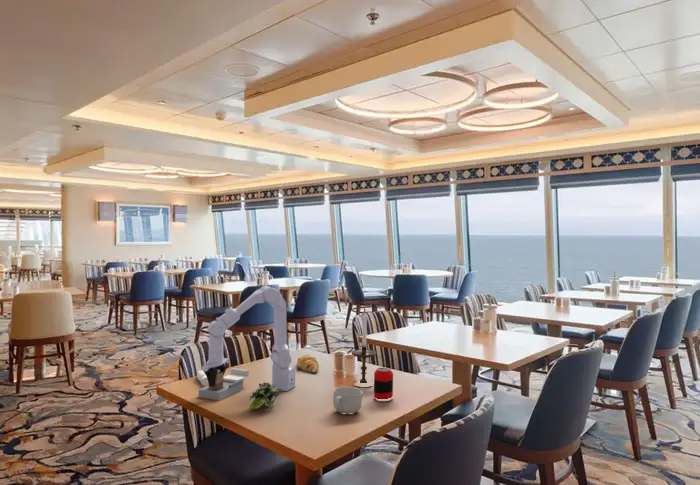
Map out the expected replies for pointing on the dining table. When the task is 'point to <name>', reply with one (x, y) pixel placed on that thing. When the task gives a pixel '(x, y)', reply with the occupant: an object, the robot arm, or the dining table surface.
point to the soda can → (383, 383)
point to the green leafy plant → (264, 396)
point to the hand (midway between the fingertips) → (215, 384)
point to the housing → (222, 390)
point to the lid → (236, 375)
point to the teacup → (347, 399)
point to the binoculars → (202, 378)
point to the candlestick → (364, 349)
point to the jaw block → (218, 381)
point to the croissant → (308, 363)
